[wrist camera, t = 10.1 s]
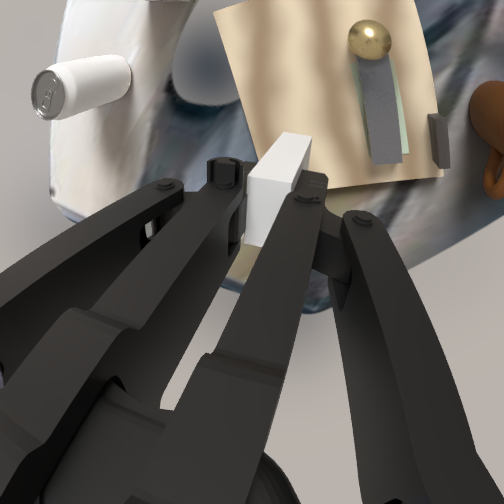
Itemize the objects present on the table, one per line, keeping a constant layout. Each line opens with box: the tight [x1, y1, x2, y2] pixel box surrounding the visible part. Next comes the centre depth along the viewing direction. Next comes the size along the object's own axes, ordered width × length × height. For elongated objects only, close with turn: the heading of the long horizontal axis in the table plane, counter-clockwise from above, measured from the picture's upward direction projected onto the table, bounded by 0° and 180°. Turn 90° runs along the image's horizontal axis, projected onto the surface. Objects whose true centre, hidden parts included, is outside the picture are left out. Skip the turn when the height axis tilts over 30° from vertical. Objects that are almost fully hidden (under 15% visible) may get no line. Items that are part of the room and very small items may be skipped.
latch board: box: [213, 0, 450, 189], centre depth 28 cm, size 20×22×5 cm
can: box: [31, 55, 131, 120], centre depth 30 cm, size 6×6×12 cm
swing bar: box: [347, 20, 403, 165], centre depth 26 cm, size 14×4×3 cm, turn 14°
